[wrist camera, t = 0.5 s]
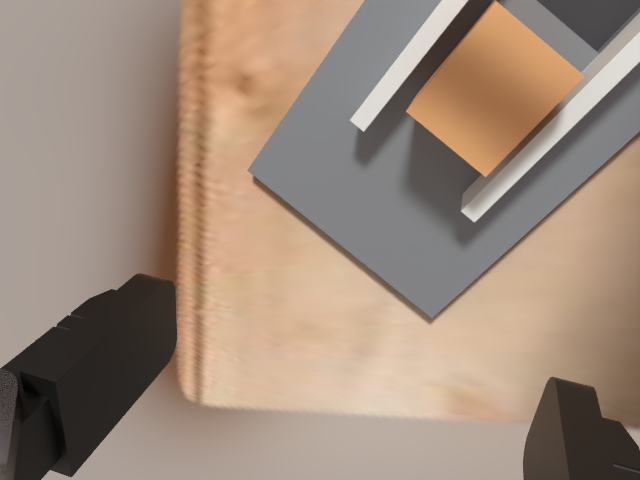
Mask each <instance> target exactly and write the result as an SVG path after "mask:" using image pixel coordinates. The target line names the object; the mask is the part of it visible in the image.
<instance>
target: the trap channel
mask: <svg viewBox="0 0 640 480" xmlns="http://www.w3.org/2000/svg"><path fill="white" fill-rule="evenodd" d="M492 1H493V0H365V1H364V2H363V4H362V5H361V7H360V8H359V9H358V11H357V12H356V14H355V15H354V17H353V18H352V20H351V21H350V22H349V24H348V25H347V27H346V28H345V30H344V31H343V33H342V34H341V35H340V37H339V38H338V40H337V41H336V43H335V44H334V46H333V47H332V49H331V50H330V51H329V53H328V54H327V56H326V57H325V59H324V60H323V62H322V63H321V64H320V66H319V67H318V69H317V70H316V72H315V73H314V75H313V76H312V77H311V79H310V80H309V82H308V83H307V85H306V86H305V88H304V89H303V91H302V92H301V93H300V95H299V96H298V98H297V99H296V101H295V102H294V104H293V105H292V106H291V108H290V109H289V111H288V112H287V114H286V115H285V117H284V118H283V119H282V121H281V122H280V124H279V125H278V127H277V128H276V130H275V131H274V133H273V134H272V135H271V137H270V138H269V140H268V141H267V143H266V144H265V146H264V147H263V148H262V150H261V151H260V153H259V154H258V156H257V157H256V159H255V160H254V161H253V163H252V164H251V166H250V167H249V169H248V170H247V171H249V172H250V173H251V174H252V175H253V176H255V177H256V178H257V179H258V180H260V181H261V182H262V183H263V184H265V185H266V186H267V187H268V188H270V189H271V190H272V191H273V192H275V193H276V194H277V195H278V196H280V197H281V198H282V199H283V200H285V201H286V202H287V203H288V204H290V205H291V206H292V207H293V208H295V209H296V210H297V211H298V212H300V213H301V214H302V215H303V216H305V217H306V218H307V219H308V220H310V221H311V222H312V223H313V224H315V225H316V226H317V227H318V228H320V229H321V230H322V231H323V232H325V233H326V234H327V235H328V236H330V237H331V238H332V239H333V240H335V241H336V242H337V243H338V244H339V245H341V246H342V247H343V248H344V249H346V250H347V251H348V252H349V253H351V254H352V255H353V256H354V257H356V258H357V259H358V260H359V261H361V262H362V263H363V264H364V265H366V266H367V267H368V268H369V269H371V270H372V271H373V272H374V273H376V274H377V275H378V276H379V277H381V278H382V279H383V280H384V281H386V282H387V283H388V284H389V285H391V286H392V287H393V288H394V289H396V290H397V291H398V292H399V293H401V294H402V295H403V296H404V297H406V298H407V299H408V300H409V301H411V302H412V303H413V304H414V305H416V306H417V307H418V308H419V309H420V310H422V311H423V312H424V313H425V314H427V315H428V316H429V317H430V318H433V317H434V316H435V315H436V314H438V313H439V312H440V311H441V310H442V309H443V308H444V307H445V306H446V305H448V304H449V303H450V302H451V301H452V300H453V299H454V298H455V297H456V296H457V295H459V294H460V293H461V292H462V291H463V290H464V289H465V288H466V287H467V286H469V285H470V284H471V283H472V282H473V281H474V280H475V279H476V278H477V277H479V276H480V275H481V274H482V273H483V272H484V271H485V270H486V269H487V268H489V267H490V266H491V265H492V264H493V263H494V262H495V261H496V260H497V259H499V258H500V257H501V256H502V255H503V254H504V253H505V252H506V251H507V250H509V249H510V248H511V247H512V246H513V245H514V244H515V243H516V242H517V241H519V240H520V239H521V238H522V237H523V236H524V235H525V234H526V233H527V232H528V231H530V230H531V229H532V228H533V227H534V226H535V225H536V224H537V223H538V222H540V221H541V220H542V219H543V218H544V217H545V216H546V215H547V214H548V213H550V212H551V211H552V210H553V209H554V208H555V207H556V206H557V205H558V204H560V203H561V202H562V201H563V200H564V199H565V198H566V197H567V196H568V195H570V194H571V193H572V192H573V191H574V190H575V189H576V188H577V187H578V186H580V185H581V184H582V183H583V182H584V181H585V180H586V179H587V178H588V177H589V176H591V175H592V174H593V173H594V172H595V171H596V170H597V169H598V168H599V167H601V166H602V165H603V164H604V163H605V162H606V161H607V160H608V159H609V158H611V157H612V156H613V155H614V154H615V153H616V152H617V151H618V150H619V149H621V148H622V147H623V146H624V145H625V144H626V143H627V142H628V141H629V140H631V139H632V138H633V137H634V136H635V135H636V134H637V133H638V132H639V131H640V0H496V1H497V2H498V3H499V4H500V5H502V6H503V7H504V8H505V9H506V10H508V11H509V12H510V13H511V14H512V15H513V16H515V17H516V18H517V19H518V20H519V21H520V22H522V23H523V24H524V25H525V26H526V27H528V28H529V29H530V30H531V31H532V32H533V33H535V34H536V35H537V36H538V37H539V38H541V39H542V40H543V41H544V42H545V43H546V44H548V45H549V46H550V47H551V48H552V49H553V50H555V51H556V52H557V53H558V54H559V55H561V56H562V57H563V58H564V59H565V60H566V61H568V62H569V63H570V64H571V65H572V66H573V67H575V68H576V69H577V70H578V71H579V72H581V73H582V74H583V75H584V76H585V77H584V78H583V79H582V80H581V81H580V82H579V83H578V84H577V85H576V86H575V87H574V88H573V89H572V90H571V91H570V92H569V93H568V94H567V95H566V96H565V97H564V98H563V99H562V100H561V101H560V102H559V103H558V104H557V105H556V106H555V107H554V108H553V109H552V110H551V111H550V112H549V113H548V114H547V115H546V117H545V118H544V119H543V120H542V121H541V122H540V123H539V124H538V125H537V126H536V127H535V128H534V129H533V130H532V131H531V132H530V133H529V134H528V135H527V136H526V137H525V138H524V139H523V140H522V141H521V142H520V143H519V144H518V145H517V146H516V147H515V148H514V149H513V150H512V151H511V152H510V153H509V154H508V155H507V156H506V157H505V158H504V159H503V160H502V161H501V162H500V163H499V164H498V165H497V166H496V167H495V168H494V169H493V170H492V171H491V172H490V173H489V174H488V175H487V176H486V177H485V176H483V175H482V174H481V173H480V172H479V171H477V170H476V169H475V168H474V167H473V166H471V165H470V164H469V163H468V162H467V161H465V160H464V159H463V158H462V157H460V156H459V155H458V154H457V153H456V152H454V151H453V150H452V149H451V148H450V147H448V146H447V145H446V144H445V143H443V142H442V141H441V140H440V139H439V138H437V137H436V136H435V135H434V134H433V133H431V132H430V131H429V130H428V129H427V128H425V127H424V126H423V125H422V124H420V123H419V122H418V121H417V120H416V119H414V118H413V117H412V116H411V115H410V114H408V113H407V112H406V110H407V109H408V107H409V106H410V104H411V103H412V101H413V100H414V98H415V96H416V95H417V93H418V92H419V90H420V89H421V88H422V87H423V86H424V84H425V83H426V82H427V81H428V79H429V78H430V77H431V76H432V75H433V73H434V72H435V71H436V70H437V68H438V67H439V66H440V65H441V64H442V62H443V61H444V60H445V59H446V57H447V56H448V55H449V54H450V53H451V51H452V50H453V49H454V48H455V46H456V45H457V44H458V43H459V42H460V40H461V39H462V38H463V37H464V35H465V34H466V33H467V32H468V31H469V29H470V28H471V27H472V26H473V24H474V23H475V22H476V21H477V20H478V18H479V17H480V16H481V15H482V13H483V12H484V11H485V10H486V9H487V7H488V6H489V5H490V4H491V2H492Z"/></svg>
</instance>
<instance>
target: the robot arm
mask: <svg viewBox="0 0 640 480" xmlns="http://www.w3.org/2000/svg"><path fill="white" fill-rule="evenodd" d="M176 341H177V324H176V296H175V286H174V284H173V282H172V281H169V280H165V279H161V278H157V277H153V276H149V275H145V274H136V275H135V276H133V277H132V278H131V279H130V280H129V281H128V282H126V283H125V284H124V285H123V286H121V287H120V288H119V289H118V290H113V289H111V290H109V291H106V292H104V293H102V294H99V295H97V296H94V297H92V298H90V299H88V300H87V301H85V302H84V303H83V304H82V305H80V306H79V307H78V308H76V309H75V310H74V311H73V312H71V315H70V316H69V315H68V316H66V317H65V318H64V319H63V320H61V321H60V322H59V323H58V324H57V326H56V327H52V328H51V329H50V330H49V331H48V332H46V333H45V334H44V335H42V336H41V337H40V338H39V339H37V340H36V341H35V342H34V343H32V344H31V345H30V346H29V347H27V348H26V349H25V350H23V352H21V353H20V354H19V355H17V356H16V357H15V358H13V359H12V360H11V361H10V362H8V363H7V364H6V365H4V366H3V367H2V368H0V480H41V479H42V478H43V477H44V476H45V474H46V473H47V472H48V471H49V470H52V471H55V472H58V473H60V474H64V475H66V476H69V477H72V476H73V475H74V474H75V473H76V471H77V470H78V469H79V468H80V467H81V465H82V464H83V463H84V462H85V461H86V460H87V458H88V457H89V456H90V455H91V454H92V453H93V451H94V450H95V449H96V448H97V447H98V446H99V444H100V443H101V442H102V441H103V440H104V438H105V437H106V436H107V435H108V434H109V433H110V431H111V430H112V429H113V428H114V426H115V425H116V424H117V423H118V422H119V421H120V420H121V418H122V417H123V416H124V415H125V414H126V412H127V411H128V410H129V409H130V408H131V406H132V405H133V404H134V403H135V402H136V401H137V400H138V398H139V397H140V396H141V395H142V394H143V392H144V391H145V390H146V389H147V388H148V387H149V385H150V384H151V383H152V382H153V381H154V379H155V378H156V377H157V376H158V375H159V374H160V372H161V371H162V370H163V369H164V368H165V367H166V365H167V364H168V363H169V361H170V359H171V357H172V355H173V353H174V350H175V346H176ZM523 474H524V480H640V450H639V447H638V445H637V444H636V443H635V441H634V440H633V439H632V437H631V436H630V435H629V433H628V432H627V431H626V429H625V428H624V427H623V425H622V424H621V423H620V422H618V421H614V420H610V419H606V418H602V416H601V412H600V408H599V403H598V399H597V395H596V391H595V389H594V388H593V387H591V386H587V385H583V384H579V383H575V382H571V381H567V380H563V379H559V378H555V377H551V378H550V379H549V380H548V382H547V384H546V387H545V389H544V392H543V395H542V397H541V400H540V403H539V405H538V408H537V411H536V414H535V416H534V419H533V422H532V424H531V427H530V430H529V433H528V436H527V439H526V444H525V450H524V458H523Z"/></svg>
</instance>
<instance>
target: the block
mask: <svg viewBox="0 0 640 480" xmlns="http://www.w3.org/2000/svg"><path fill="white" fill-rule="evenodd" d="M584 77H585V76H584V75H583V74H582V73H581V72H579V71H578V70H577V69H576V68H575V67H573V66H572V65H571V64H570V63H569V62H568V61H566V60H565V59H564V58H563V57H562V56H561V55H559V54H558V53H557V52H556V51H555V50H553V49H552V48H551V47H550V46H549V45H548V44H546V43H545V42H544V41H543V40H542V39H541V38H539V37H538V36H537V35H536V34H535V33H533V32H532V31H531V30H530V29H529V28H528V27H526V26H525V25H524V24H523V23H522V22H520V21H519V20H518V19H517V18H516V17H515V16H513V15H512V14H511V13H510V12H509V11H508V10H506V9H505V8H504V7H503V6H502V5H500V4H499V3H498V2H497V1H496V0H493V1H492V2H491V4H490V5H489V6H488V7H487V9H486V10H485V11H484V12H483V13H482V15H481V16H480V17H479V18H478V20H477V21H476V22H475V23H474V24H473V26H472V27H471V28H470V29H469V31H468V32H467V33H466V34H465V35H464V37H463V38H462V39H461V40H460V42H459V43H458V44H457V45H456V46H455V48H454V49H453V50H452V51H451V53H450V54H449V55H448V56H447V57H446V59H445V60H444V61H443V62H442V64H441V65H440V66H439V67H438V68H437V70H436V71H435V72H434V73H433V75H432V76H431V77H430V78H429V79H428V81H427V82H426V83H425V84H424V86H423V87H422V88H421V89H420V90H419V92H418V93H417V95H416V96H415V98H414V100H413V101H412V103H411V104H410V106H409V107H408V109H407V110H406V112H407V113H408V114H410V115H411V116H412V117H413V118H414V119H416V120H417V121H418V122H419V123H420V124H422V125H423V126H424V127H425V128H427V129H428V130H429V131H430V132H431V133H433V134H434V135H435V136H436V137H437V138H439V139H440V140H441V141H442V142H443V143H445V144H446V145H447V146H448V147H450V148H451V149H452V150H453V151H454V152H456V153H457V154H458V155H459V156H460V157H462V158H463V159H464V160H465V161H467V162H468V163H469V164H470V165H471V166H473V167H474V168H475V169H476V170H477V171H479V172H480V173H481V174H482V175H483V176H485V177H486V176H487V175H488V174H489V173H490V172H491V171H492V170H493V169H494V168H495V167H496V166H497V165H498V164H499V163H500V162H501V161H502V160H503V159H504V158H505V157H506V156H507V155H508V154H509V153H510V152H511V151H512V150H513V149H514V148H515V147H516V146H517V145H518V144H519V143H520V142H521V141H522V140H523V139H524V138H525V137H526V136H527V135H528V134H529V133H530V132H531V131H532V130H533V129H534V128H535V127H536V126H537V125H538V124H539V123H540V122H541V121H542V120H543V119H544V118H545V117H546V115H547V114H548V113H549V112H550V111H551V110H552V109H553V108H554V107H555V106H556V105H557V104H558V103H559V102H560V101H561V100H562V99H563V98H564V97H565V96H566V95H567V94H568V93H569V92H570V91H571V90H572V89H573V88H574V87H575V86H576V85H577V84H578V83H579V82H580V81H581V80H582V79H583V78H584Z"/></svg>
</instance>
